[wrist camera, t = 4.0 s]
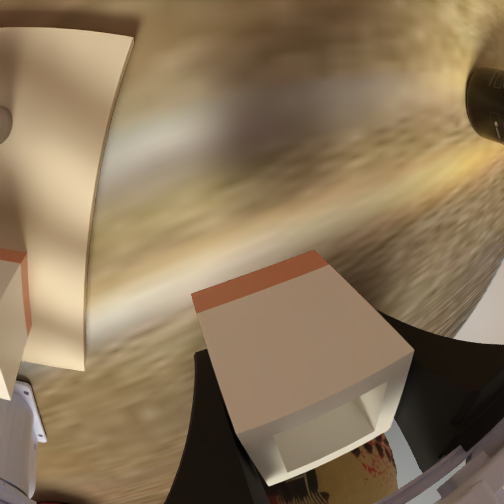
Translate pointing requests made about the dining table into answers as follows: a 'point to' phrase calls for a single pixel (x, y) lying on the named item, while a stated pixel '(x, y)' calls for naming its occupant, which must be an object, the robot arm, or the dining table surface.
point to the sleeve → (301, 364)
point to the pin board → (55, 171)
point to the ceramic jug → (341, 478)
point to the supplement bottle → (487, 103)
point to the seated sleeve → (13, 316)
